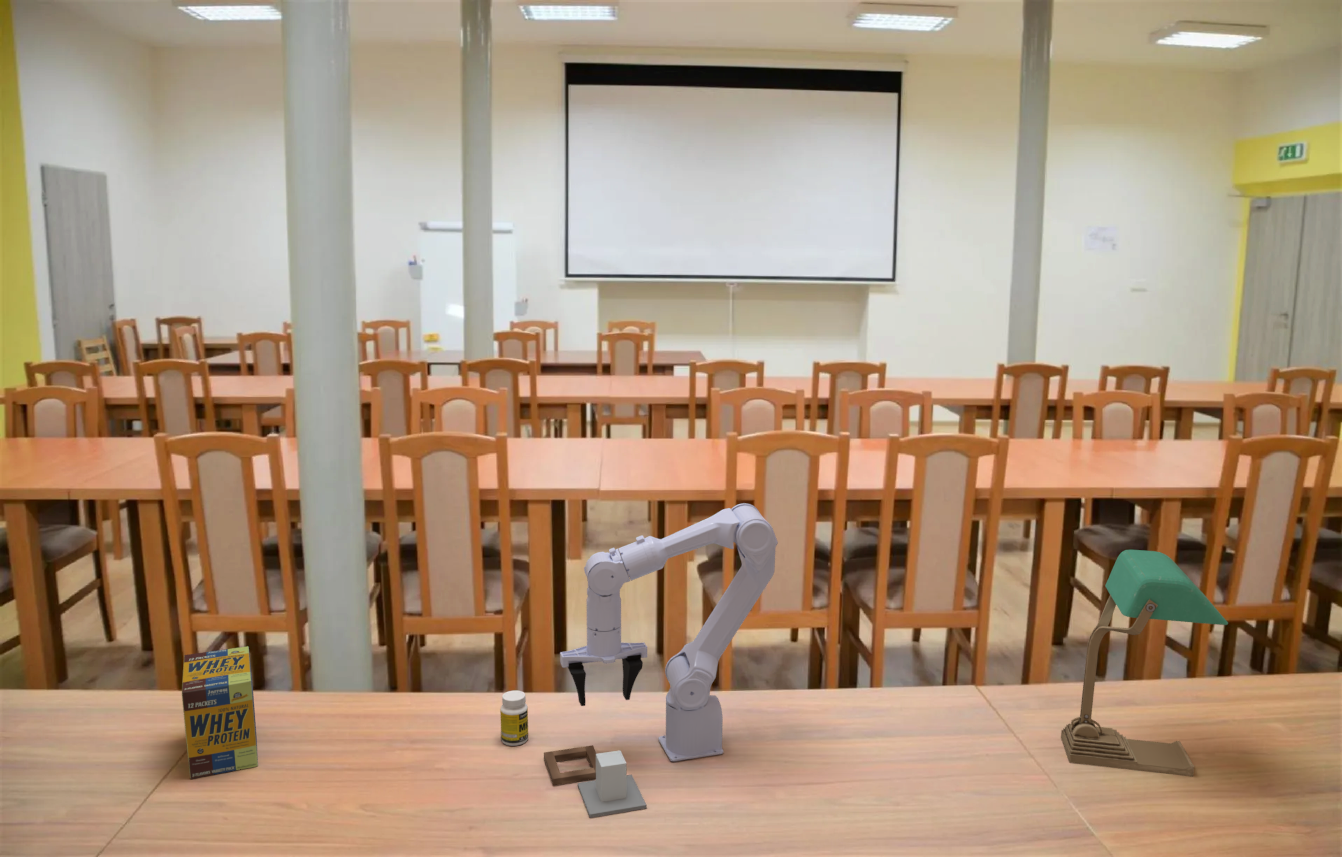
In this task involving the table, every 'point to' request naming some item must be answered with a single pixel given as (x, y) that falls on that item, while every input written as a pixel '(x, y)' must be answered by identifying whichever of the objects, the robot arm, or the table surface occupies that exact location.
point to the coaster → (614, 806)
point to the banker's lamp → (1142, 593)
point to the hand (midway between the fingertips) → (604, 700)
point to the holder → (569, 754)
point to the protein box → (219, 712)
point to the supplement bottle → (514, 718)
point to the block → (611, 776)
